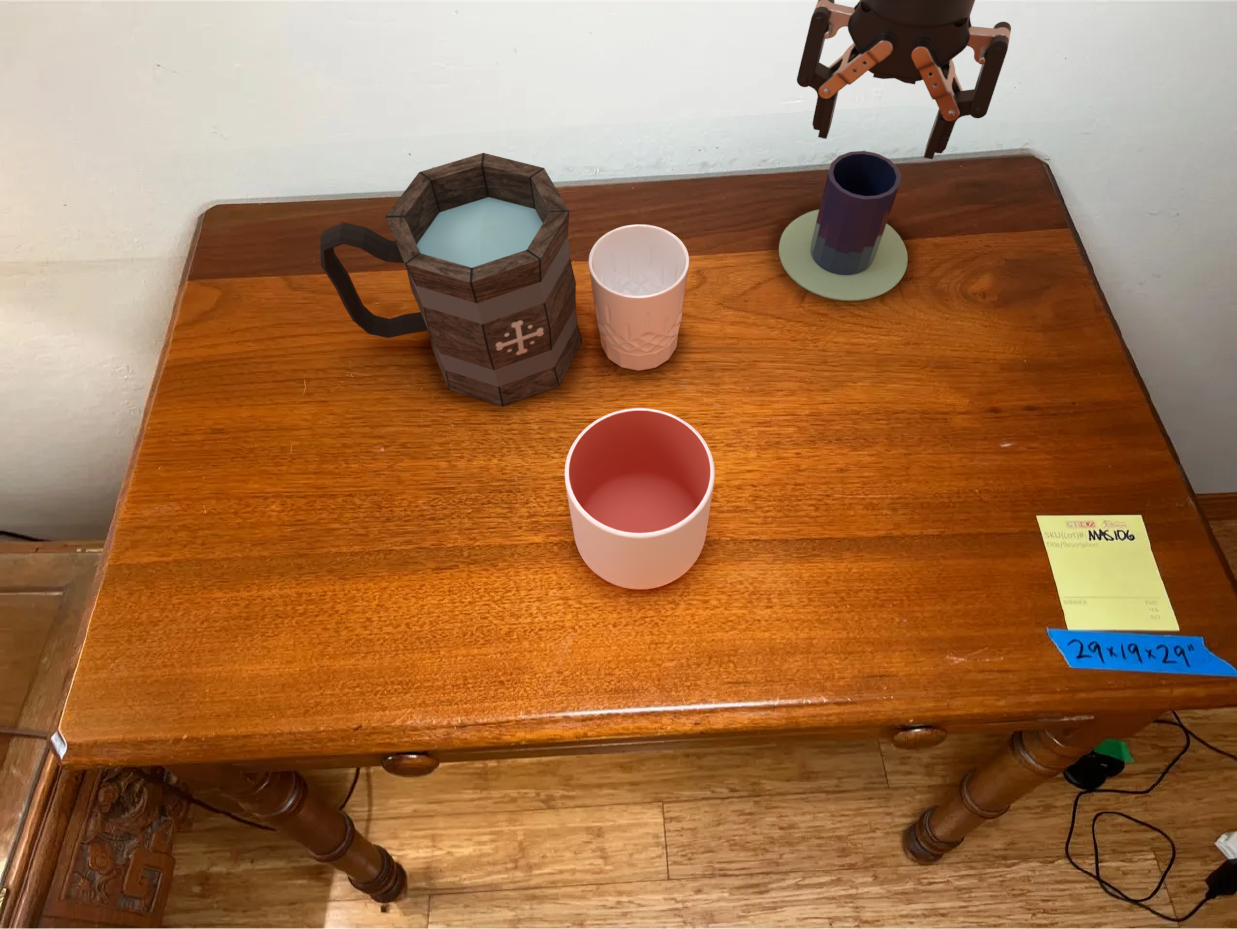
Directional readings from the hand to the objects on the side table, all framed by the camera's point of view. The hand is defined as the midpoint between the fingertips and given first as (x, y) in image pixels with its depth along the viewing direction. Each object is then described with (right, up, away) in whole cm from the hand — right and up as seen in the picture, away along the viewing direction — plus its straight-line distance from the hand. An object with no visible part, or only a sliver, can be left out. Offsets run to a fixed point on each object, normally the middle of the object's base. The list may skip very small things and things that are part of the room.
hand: (876, 142), depth 66 cm
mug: (-34, -16, +6) cm, 38 cm away
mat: (0, -6, +11) cm, 12 cm away
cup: (-19, -32, -4) cm, 37 cm away
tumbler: (0, -6, +10) cm, 12 cm away
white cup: (-19, -15, +6) cm, 25 cm away
